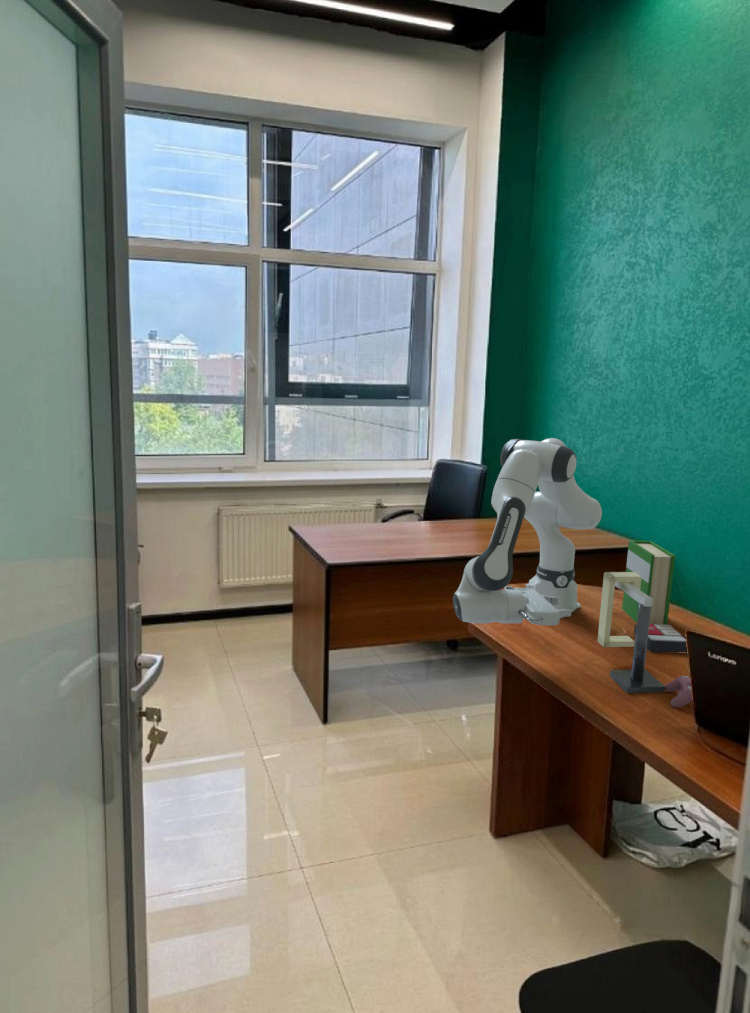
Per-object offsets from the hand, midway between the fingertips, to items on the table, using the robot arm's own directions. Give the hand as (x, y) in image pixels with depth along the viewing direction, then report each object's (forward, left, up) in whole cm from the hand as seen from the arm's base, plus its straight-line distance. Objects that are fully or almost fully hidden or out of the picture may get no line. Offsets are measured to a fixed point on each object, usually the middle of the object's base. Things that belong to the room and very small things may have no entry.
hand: (563, 606), depth 189 cm
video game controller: (+23, +22, -16) cm, 36 cm away
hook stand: (+6, +15, -16) cm, 23 cm away
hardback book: (-31, +40, -16) cm, 54 cm away
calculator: (-12, +36, -17) cm, 42 cm away
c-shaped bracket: (0, +16, -11) cm, 19 cm away
